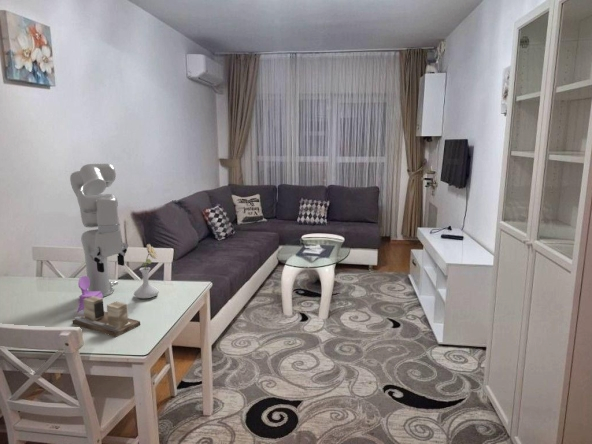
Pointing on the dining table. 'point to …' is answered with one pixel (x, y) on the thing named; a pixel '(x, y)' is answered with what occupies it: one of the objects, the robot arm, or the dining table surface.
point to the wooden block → (117, 314)
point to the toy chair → (86, 291)
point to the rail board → (101, 318)
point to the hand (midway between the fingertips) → (111, 268)
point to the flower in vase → (146, 288)
